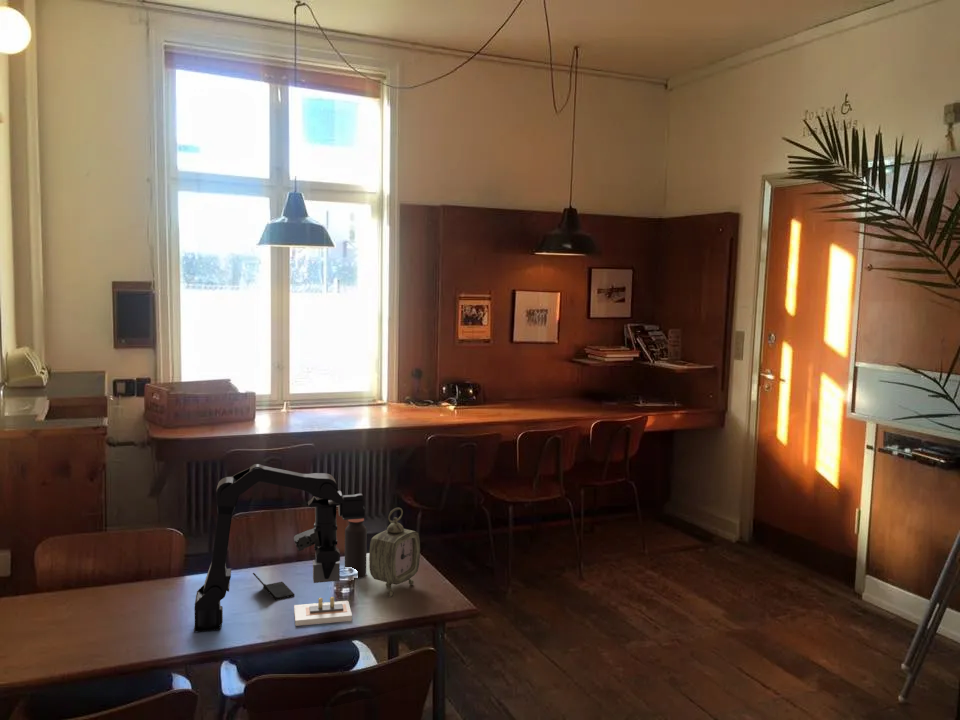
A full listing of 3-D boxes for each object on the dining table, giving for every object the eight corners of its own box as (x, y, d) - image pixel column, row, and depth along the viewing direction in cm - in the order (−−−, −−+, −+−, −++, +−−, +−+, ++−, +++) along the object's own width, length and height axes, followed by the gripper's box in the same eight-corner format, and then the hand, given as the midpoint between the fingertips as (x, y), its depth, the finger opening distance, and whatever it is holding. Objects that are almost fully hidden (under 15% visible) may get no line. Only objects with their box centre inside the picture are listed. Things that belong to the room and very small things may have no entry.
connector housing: (338, 575, 215) (338, 558, 215) (339, 580, 212) (339, 563, 211) (312, 577, 214) (312, 560, 213) (313, 583, 210) (313, 565, 209)
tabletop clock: (391, 600, 225) (392, 516, 222) (366, 593, 229) (367, 511, 227) (419, 584, 237) (421, 504, 235) (395, 577, 242) (396, 499, 239)
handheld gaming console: (301, 589, 227) (280, 567, 223) (284, 609, 223) (262, 587, 219) (282, 582, 236) (262, 561, 232) (266, 602, 232) (245, 580, 228)
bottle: (349, 580, 238) (350, 517, 236) (341, 573, 244) (341, 511, 242) (369, 576, 242) (370, 514, 240) (360, 569, 248) (361, 508, 246)
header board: (295, 625, 207) (295, 608, 206) (294, 610, 216) (294, 593, 216) (351, 620, 211) (352, 603, 210) (348, 605, 220) (348, 589, 220)
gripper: (294, 512, 218) (295, 566, 219) (296, 533, 200) (297, 591, 201) (334, 510, 221) (334, 562, 222) (340, 530, 203) (340, 588, 204)
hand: (326, 575), depth 213 cm, fingers closed on connector housing, 4 cm apart
